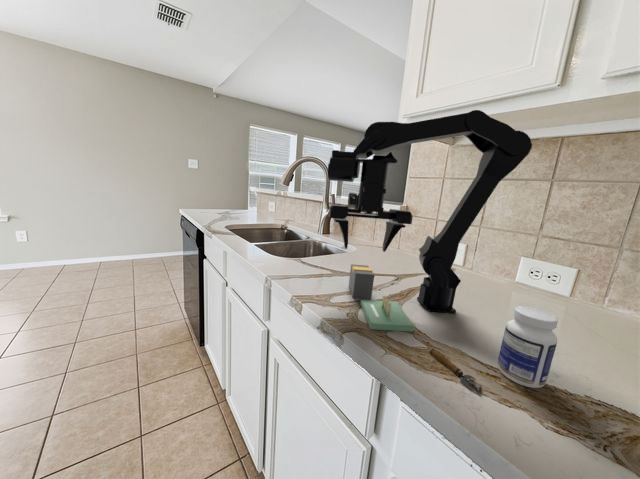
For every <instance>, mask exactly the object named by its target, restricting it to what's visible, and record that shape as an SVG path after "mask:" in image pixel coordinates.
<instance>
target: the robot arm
mask: <svg viewBox="0 0 640 479" xmlns="http://www.w3.org/2000/svg"><path fill="white" fill-rule="evenodd" d="M462 136H464V137H465V138H467V139H468V140H469V141H470V142H471V143H472V145H473V146H474V147H475V148H476V149H477V150H478V151H479V152H481V153H482V156H481V158H480V160H479V164H478V168H477V173H476V175H475V177H474V179H473V181H472V182H471V184H470V185H469V186H468V188H467V190H466V191H465V193H464V195H463V196H462V198H461V199H460V201H459V203H458V204H457V206H456V208H455V209H454V210H453V212H452V214H450V216H449V218H448V220H447V221H446V223H445V225H444V227H443V228H441V231H440V232H439V233H438V234H437V235H436V236H435V237H433V238H432V237H431V236H430V235H427V237H426V239H425V241H424V243H423V245H422V246H421V247H420V248H418V252H420V253H419V255H418V259H419V263H420V265H421V267H422V269H423V271H424V272H425V274H427V275H428V277H423V282H422V283H421V284H420V288H419V293H418V296H417V298H416V300H417V301H418V302H419V303H420V304H421V305H422V306H423V307H424V308H425V309H426V310H427V311H428V312H437V313H453V314H456V313H457V309H455V308H454V307H453V306H454V301H455V297H456V291H457V288H458V286H460V284H461V282H462V281H461V279H460V278H459V276H458V275H457V274H456V273H455V272H454V270H453V269H452V267H453V264H454V261H455V260H456V258H457V254H458V249H459V245H460V242H461V240H462V239H463V237H464V236H465V235H466V233H467V232H468V230H469V229H470V227H471V225H472V224H473V222H474V221H475V219H476V218H477V216H478V215H479V214H480V212H481V210H482V209H483V208H484V206H485V204H486V203H487V201H488V200H489V198H490V196H491V195H492V194H493V192H494V191H495V189H496V187H497V186H498V185H499V183H500V182H501V181H503V179H505V178H506V177H507V176H508V175H509V174H510V173H511V172H512V171H514V170H515V169H516V168H517V167H518V166H519V165H520V163H522V162H523V161H524V160H525V158H527V156H528V155H529V154H530V152H531V150H532V148H533V143H532V140H531V137H530V136H529V135H528V134H527V133H526V132H524V131H522V130H516V129H514V128H513V127H511V126H510V125H509V124H508V123H505V122H502V121H500V120H498V119H496V118H493V117H491V116H489V115H488V114H487V113H485V112H484V111H483V110H479V109H474V110H471V111H469V112H464V113H458V114H453V115H448V116H442V117H438V118H437V117H436V118H431V119H426V120H420V121H414V122H408V123H407V122H397V121H375V122H373V123H371V124H369V126H368V127H367V129H366V130H365V132H364V138H363V139H362V140H361V141H360V142H359V144H358V145H357V146H356V147H355V148H354V149H353V151H340V150H339V149H338V150H336V149H332V150H331V157H330V158H329V163H328V165H327V178H328V180H329V181H333V182H334V181H335V182H347V183H348V182H349V183H353V182H354V181H355V179H359V176H360V182H359V183H360V184H359V189H358V194H357V193H355V192H354V193H353V192H349V193H348V198H347V205H343V204H330V206H329V207H328V217H329V218H330V219H333V221H334V222H335V223H338V225H339V228H340V231H341V236H342V240H343V245H344V249H345V250H348V246H349V220H348V219H347V218H348V217H353V218H365V219H366V218H367V219H379V220H380V219H381V220H388V221H385V224H386V225H385V227H386V228H385V232H384V238H383V243H382V252H385V253H386V251H387V249H388V248H389V246H390V244H391V243H392V241H393V240H394V238H395V237H396V235H397V234H398V233H399V231H400V230H401V229H402V228H403V229H404V228H406V225H412V222H413V218H414V217H413V214H412V212H411V211H409V210H404V209H392V208H390V209H389V210H388V211H384V210H385V209H384V200H385V195H386V193H387V192H386V191H387V189H386V185H387V178H388V170H389V166H390V165H391V166H394V165H395V166H396V165H397V163H398V159H396V158H395V156H394V155H393V153H392V152H391V151H395V150H398V149H399V148H401V147H403V146H407V145H410V144H411V145H413V144H416V143H417V144H418V143H424V142H430V141H436V140H442V139H450V138H454V137H455V138H456V137H462ZM385 153H387V154H386V155H383V154H385ZM371 156H372V158H371V159H370V157H371ZM360 170H361V174H360ZM349 207H350V208H349ZM375 212H376V213H375Z"/></svg>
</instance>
